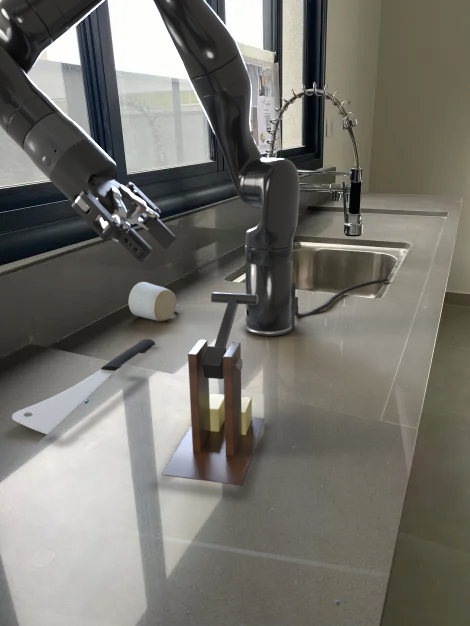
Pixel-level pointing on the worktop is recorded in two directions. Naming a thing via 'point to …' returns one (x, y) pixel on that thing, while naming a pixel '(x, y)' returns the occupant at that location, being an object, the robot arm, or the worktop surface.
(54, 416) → the kitchen cleaver
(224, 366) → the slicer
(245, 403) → the butter
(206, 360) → the lever
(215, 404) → the butter
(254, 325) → the robot arm
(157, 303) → the ceramic mug
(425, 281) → the worktop surface
